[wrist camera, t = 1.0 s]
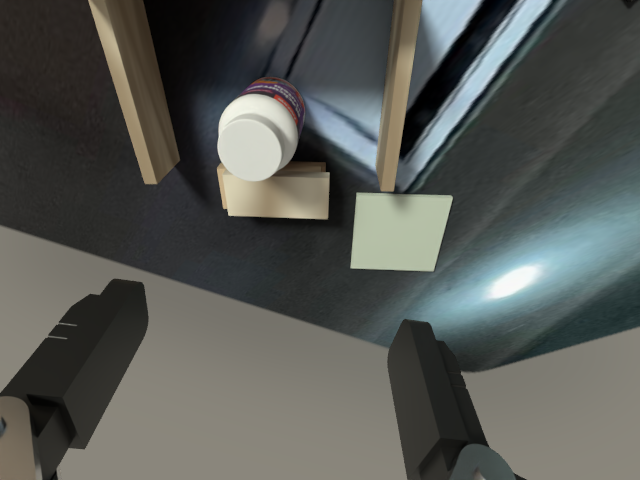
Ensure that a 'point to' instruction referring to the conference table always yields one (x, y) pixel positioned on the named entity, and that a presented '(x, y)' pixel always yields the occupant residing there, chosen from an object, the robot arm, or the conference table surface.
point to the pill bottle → (261, 129)
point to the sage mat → (398, 231)
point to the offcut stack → (279, 192)
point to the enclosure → (151, 106)
